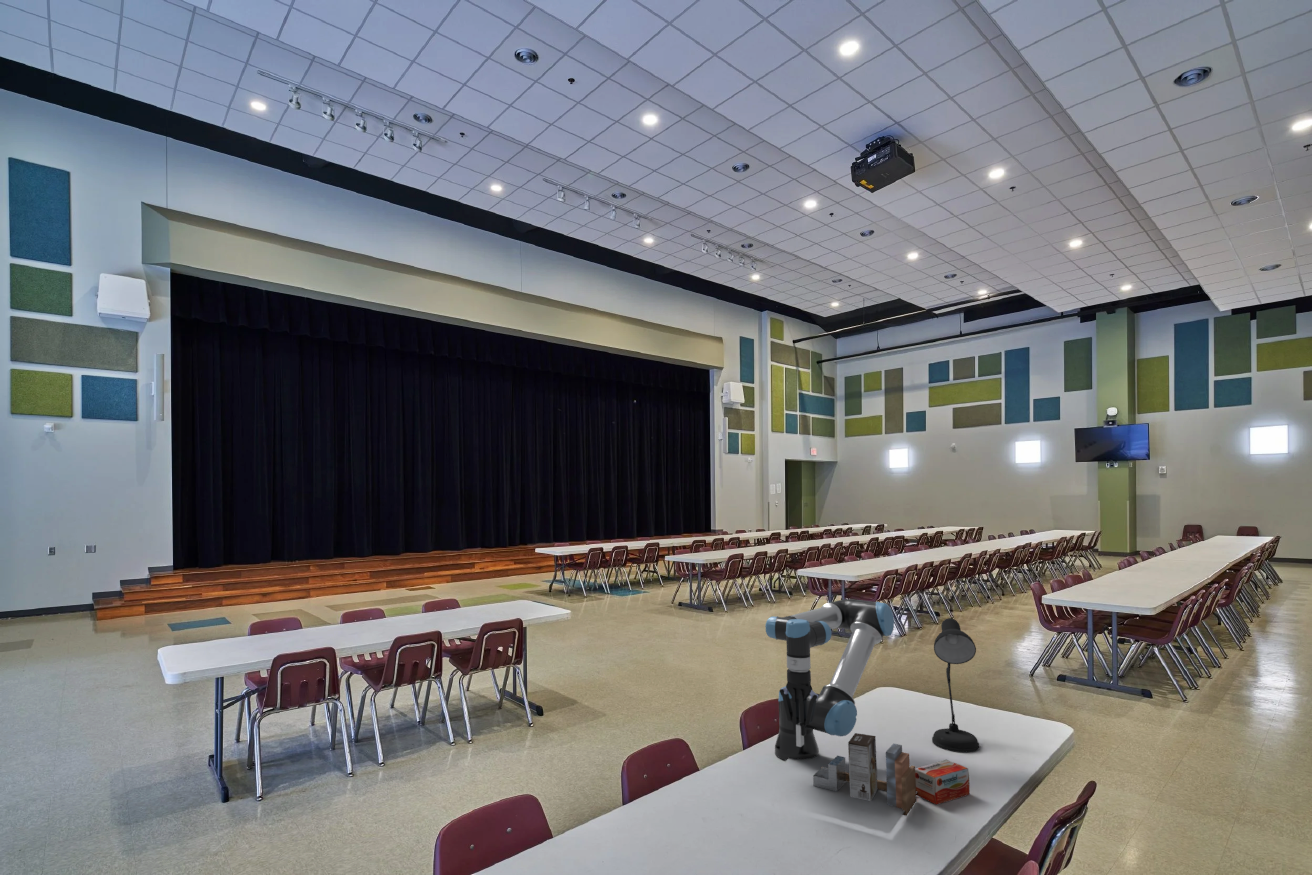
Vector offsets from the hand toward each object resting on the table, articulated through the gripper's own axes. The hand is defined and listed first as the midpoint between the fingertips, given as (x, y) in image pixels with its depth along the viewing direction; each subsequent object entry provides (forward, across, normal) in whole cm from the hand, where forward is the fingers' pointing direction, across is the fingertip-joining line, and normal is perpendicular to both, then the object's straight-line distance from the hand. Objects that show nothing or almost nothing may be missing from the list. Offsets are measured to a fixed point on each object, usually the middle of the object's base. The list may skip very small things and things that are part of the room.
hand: (800, 745), depth 212 cm
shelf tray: (+11, +19, +1) cm, 22 cm away
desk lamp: (+11, +34, +60) cm, 70 cm away
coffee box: (+10, +20, 0) cm, 22 cm away
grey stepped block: (+10, +9, 0) cm, 14 cm away
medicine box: (+11, +39, +15) cm, 43 cm away
